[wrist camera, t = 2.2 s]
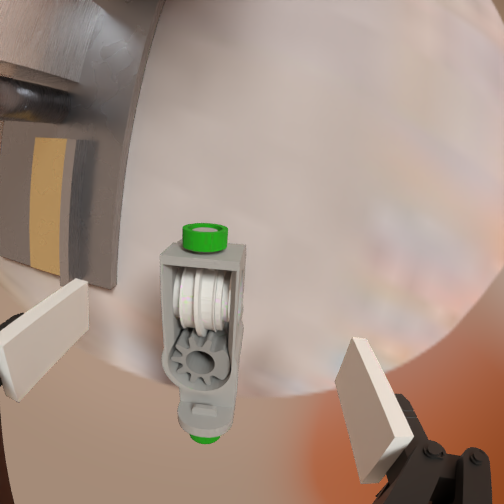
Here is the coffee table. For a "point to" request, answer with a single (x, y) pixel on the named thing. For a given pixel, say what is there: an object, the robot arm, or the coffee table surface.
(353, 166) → the coffee table surface
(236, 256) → the mechanical component
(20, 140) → the hinge base
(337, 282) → the coffee table surface
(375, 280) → the coffee table surface
